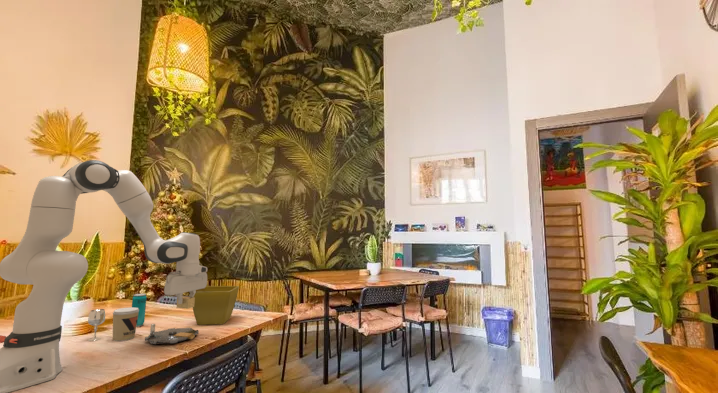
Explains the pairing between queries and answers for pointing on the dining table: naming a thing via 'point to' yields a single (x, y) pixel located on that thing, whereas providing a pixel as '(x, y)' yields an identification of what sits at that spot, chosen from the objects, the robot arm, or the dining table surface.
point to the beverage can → (140, 307)
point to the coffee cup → (124, 323)
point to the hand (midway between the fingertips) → (185, 302)
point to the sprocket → (170, 335)
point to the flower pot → (214, 304)
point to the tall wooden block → (186, 302)
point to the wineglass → (96, 320)
